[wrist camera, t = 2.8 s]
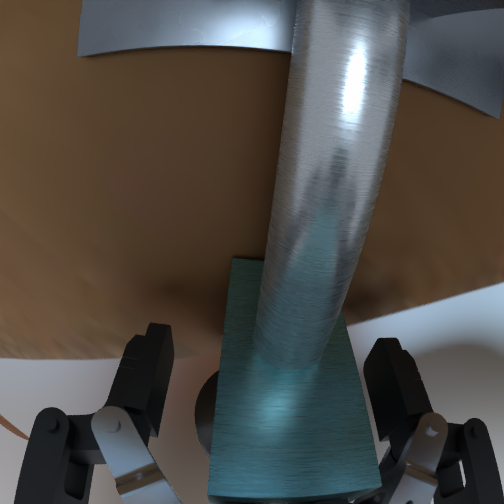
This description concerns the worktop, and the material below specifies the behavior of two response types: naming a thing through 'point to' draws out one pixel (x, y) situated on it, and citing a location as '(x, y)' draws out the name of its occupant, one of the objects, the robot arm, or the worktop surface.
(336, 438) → the rod with teal cap
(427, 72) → the eye post
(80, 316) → the worktop surface
